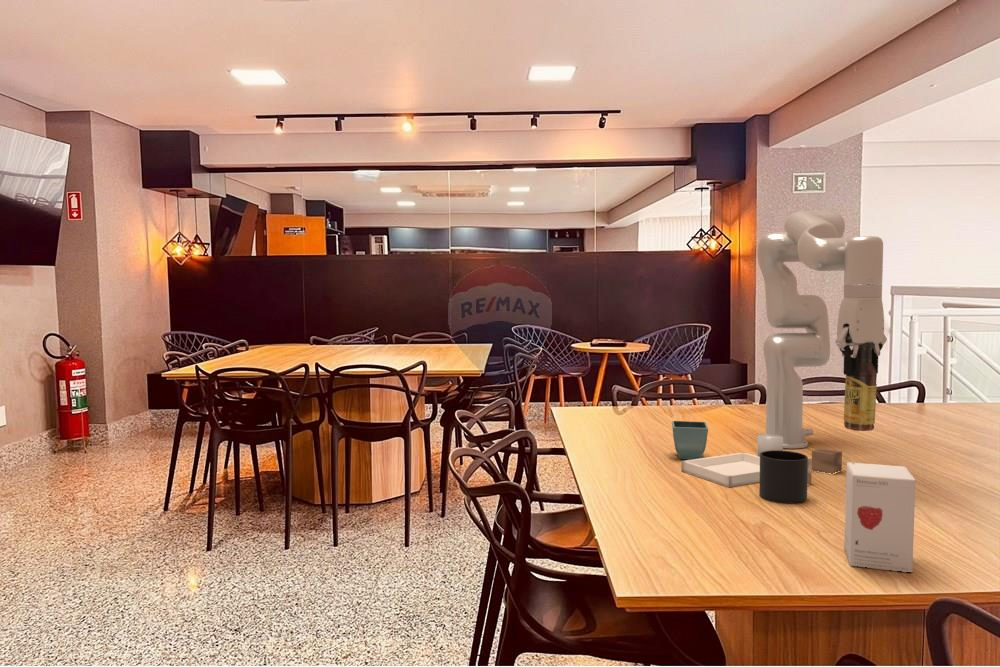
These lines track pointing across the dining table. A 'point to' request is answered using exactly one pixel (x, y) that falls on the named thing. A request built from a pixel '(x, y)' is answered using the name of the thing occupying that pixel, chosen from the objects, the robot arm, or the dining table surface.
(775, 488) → the mug
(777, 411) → the robot arm
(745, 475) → the tray
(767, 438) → the white rounded block
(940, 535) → the dining table surface
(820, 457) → the walnut cube
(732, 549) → the dining table surface
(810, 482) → the beech block
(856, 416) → the sauce bottle
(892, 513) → the supplement box
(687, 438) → the flower pot
